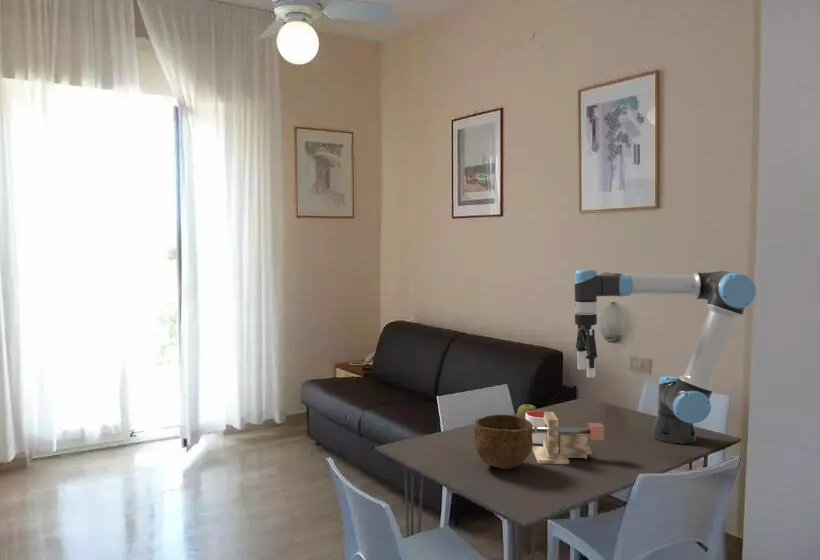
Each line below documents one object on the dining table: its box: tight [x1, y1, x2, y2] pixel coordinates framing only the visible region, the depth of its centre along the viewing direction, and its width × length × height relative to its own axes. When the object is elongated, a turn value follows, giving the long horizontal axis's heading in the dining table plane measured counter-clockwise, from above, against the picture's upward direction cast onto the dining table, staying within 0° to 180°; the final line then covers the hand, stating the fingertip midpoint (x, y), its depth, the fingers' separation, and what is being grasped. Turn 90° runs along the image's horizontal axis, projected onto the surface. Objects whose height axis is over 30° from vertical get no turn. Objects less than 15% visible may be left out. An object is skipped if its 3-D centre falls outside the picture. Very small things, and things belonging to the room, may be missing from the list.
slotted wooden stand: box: [531, 411, 589, 465], centre depth 217 cm, size 17×14×14 cm
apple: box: [516, 404, 538, 419], centre depth 257 cm, size 8×8×7 cm
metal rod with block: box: [532, 422, 605, 441], centre depth 217 cm, size 24×4×4 cm, turn 88°
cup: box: [525, 410, 547, 445], centre depth 234 cm, size 10×10×10 cm
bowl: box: [473, 413, 533, 470], centre depth 207 cm, size 19×19×15 cm
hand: (586, 373), depth 228 cm, fingers open, 13 cm apart
